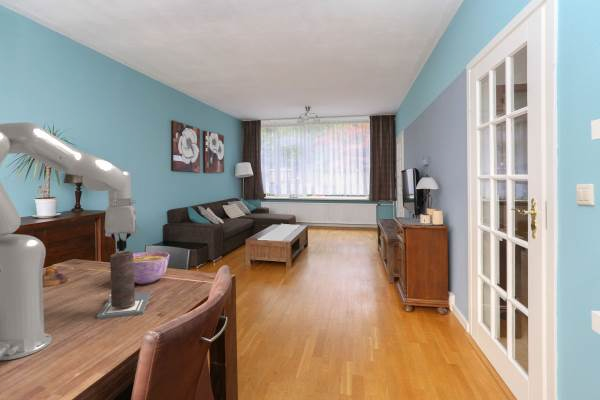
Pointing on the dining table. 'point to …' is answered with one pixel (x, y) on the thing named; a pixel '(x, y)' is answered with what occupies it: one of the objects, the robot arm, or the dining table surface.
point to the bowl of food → (149, 266)
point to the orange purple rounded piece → (53, 277)
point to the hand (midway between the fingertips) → (122, 250)
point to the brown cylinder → (122, 279)
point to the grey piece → (137, 309)
